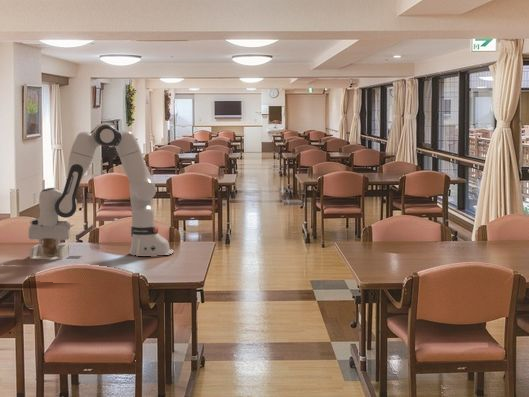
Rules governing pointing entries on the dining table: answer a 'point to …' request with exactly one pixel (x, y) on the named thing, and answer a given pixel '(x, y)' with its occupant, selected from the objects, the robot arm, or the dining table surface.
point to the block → (49, 246)
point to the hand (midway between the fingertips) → (50, 248)
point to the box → (38, 253)
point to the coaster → (73, 257)
